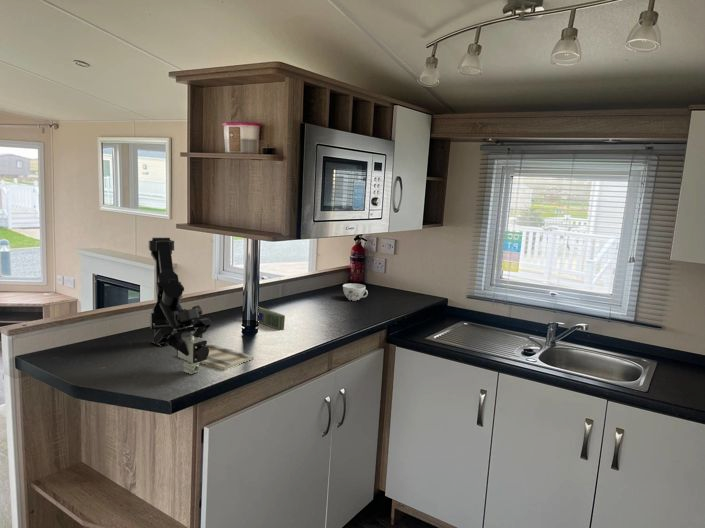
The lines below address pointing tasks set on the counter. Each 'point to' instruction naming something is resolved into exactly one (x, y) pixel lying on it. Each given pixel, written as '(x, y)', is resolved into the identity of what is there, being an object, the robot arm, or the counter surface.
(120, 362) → the counter surface
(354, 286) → the teacup
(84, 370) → the counter surface
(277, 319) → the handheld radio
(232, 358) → the mounting panel
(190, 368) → the pneumatic valve
